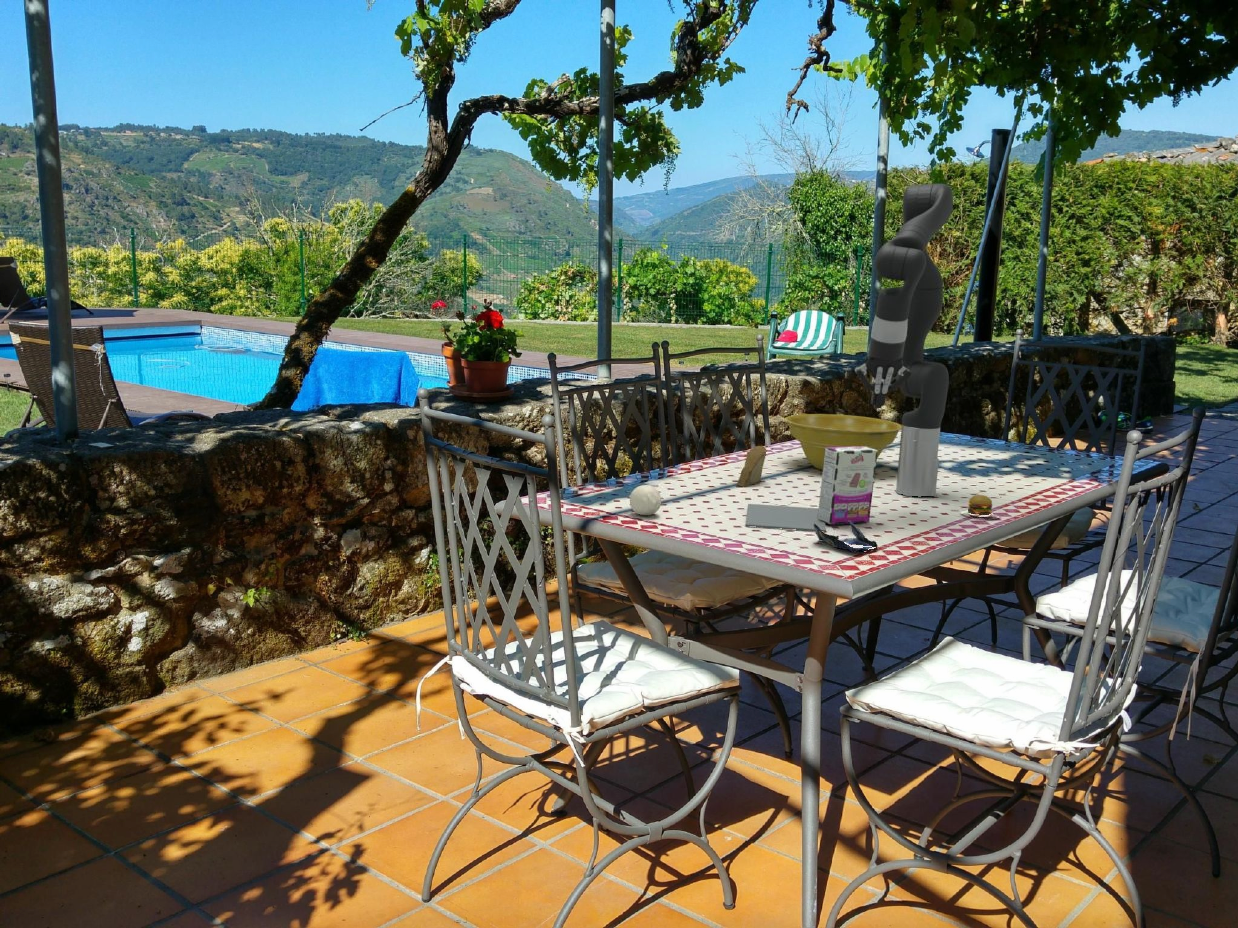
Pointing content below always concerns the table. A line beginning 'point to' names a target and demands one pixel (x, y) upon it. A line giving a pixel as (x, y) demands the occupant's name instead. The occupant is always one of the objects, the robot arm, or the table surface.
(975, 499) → the hamburger
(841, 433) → the planter bowl
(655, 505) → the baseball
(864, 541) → the snack package
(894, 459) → the table surface
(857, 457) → the candy bar box
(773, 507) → the mat
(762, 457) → the rock
